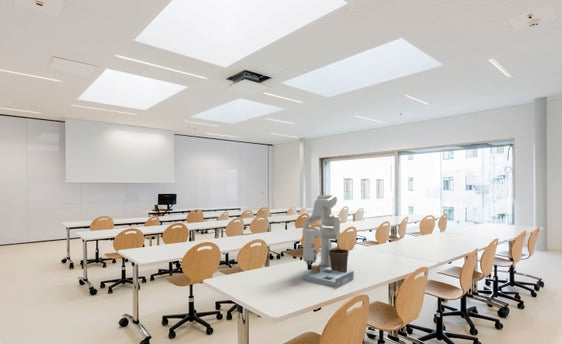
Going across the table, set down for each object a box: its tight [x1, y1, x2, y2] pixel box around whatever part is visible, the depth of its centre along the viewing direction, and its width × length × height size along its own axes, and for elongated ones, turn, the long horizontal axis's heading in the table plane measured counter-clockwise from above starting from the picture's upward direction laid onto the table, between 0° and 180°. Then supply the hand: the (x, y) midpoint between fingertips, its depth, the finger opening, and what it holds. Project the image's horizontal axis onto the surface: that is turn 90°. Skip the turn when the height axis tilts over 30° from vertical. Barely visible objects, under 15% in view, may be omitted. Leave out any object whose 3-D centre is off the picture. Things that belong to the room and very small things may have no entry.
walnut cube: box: [311, 264, 321, 273], centre depth 233 cm, size 4×4×4 cm
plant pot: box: [328, 248, 350, 273], centre depth 245 cm, size 16×16×16 cm
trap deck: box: [303, 267, 355, 288], centre depth 225 cm, size 24×28×6 cm
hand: (309, 269), depth 236 cm, fingers closed
